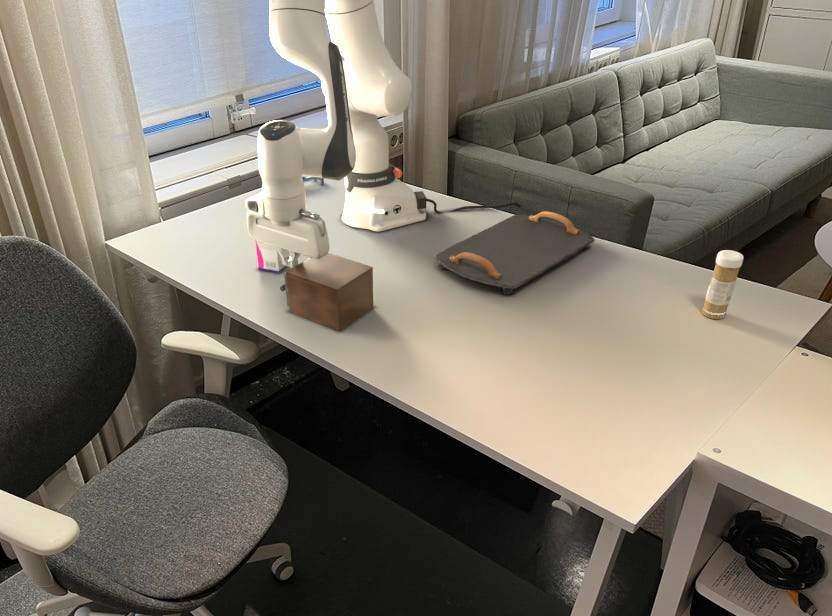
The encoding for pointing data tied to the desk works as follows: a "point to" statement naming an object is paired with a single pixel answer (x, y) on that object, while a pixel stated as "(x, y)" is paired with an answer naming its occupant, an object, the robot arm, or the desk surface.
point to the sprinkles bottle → (722, 283)
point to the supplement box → (269, 257)
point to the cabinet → (330, 290)
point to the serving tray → (515, 250)
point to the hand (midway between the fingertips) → (290, 265)
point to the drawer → (285, 288)
